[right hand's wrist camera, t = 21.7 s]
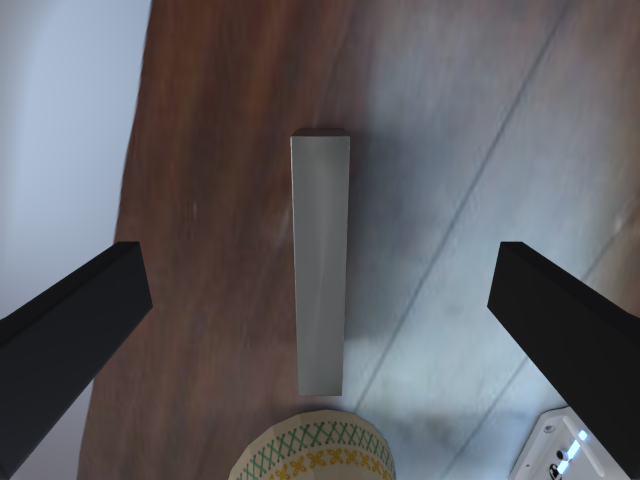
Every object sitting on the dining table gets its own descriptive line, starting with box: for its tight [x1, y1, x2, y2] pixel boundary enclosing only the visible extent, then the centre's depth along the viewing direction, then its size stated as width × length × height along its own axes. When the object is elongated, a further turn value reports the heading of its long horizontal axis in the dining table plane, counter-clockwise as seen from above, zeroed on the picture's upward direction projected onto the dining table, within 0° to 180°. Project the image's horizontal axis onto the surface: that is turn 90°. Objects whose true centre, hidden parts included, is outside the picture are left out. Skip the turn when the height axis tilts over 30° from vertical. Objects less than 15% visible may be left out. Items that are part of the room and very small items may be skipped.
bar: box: [291, 129, 350, 396], centre depth 35 cm, size 27×5×9 cm, turn 0°
